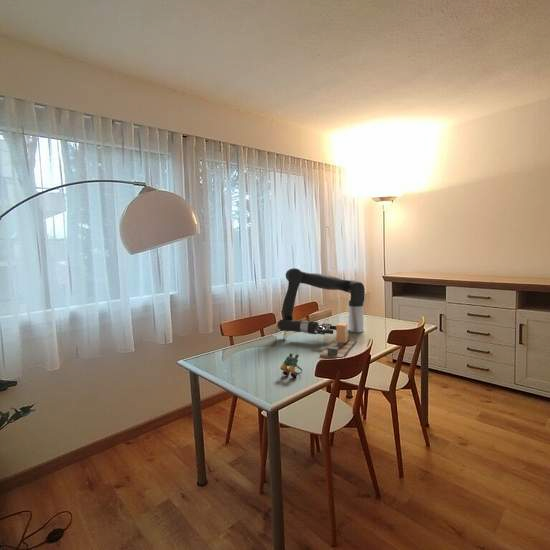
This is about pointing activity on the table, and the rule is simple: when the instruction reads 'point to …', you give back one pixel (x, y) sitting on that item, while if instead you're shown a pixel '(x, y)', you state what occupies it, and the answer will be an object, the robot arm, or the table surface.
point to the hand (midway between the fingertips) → (335, 330)
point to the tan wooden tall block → (342, 332)
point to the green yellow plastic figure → (292, 363)
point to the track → (338, 349)
